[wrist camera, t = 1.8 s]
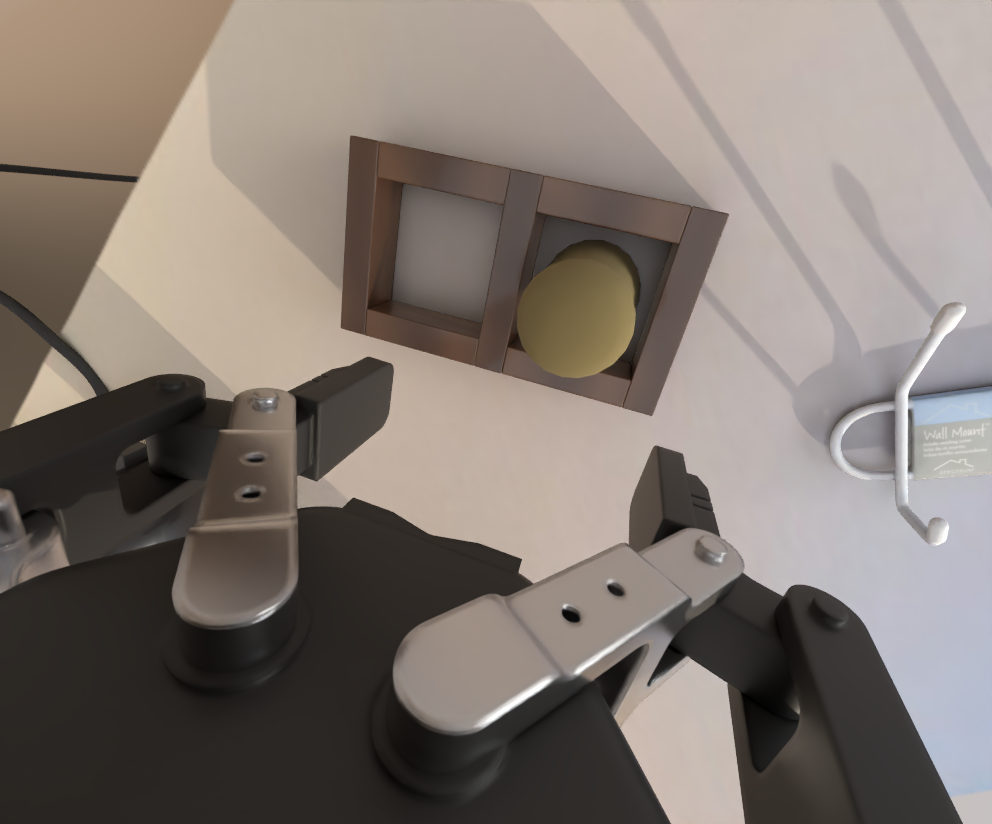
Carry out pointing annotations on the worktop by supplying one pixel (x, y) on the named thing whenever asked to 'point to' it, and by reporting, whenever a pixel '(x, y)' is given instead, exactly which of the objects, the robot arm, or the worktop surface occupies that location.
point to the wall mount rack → (929, 431)
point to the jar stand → (515, 265)
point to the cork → (580, 310)
